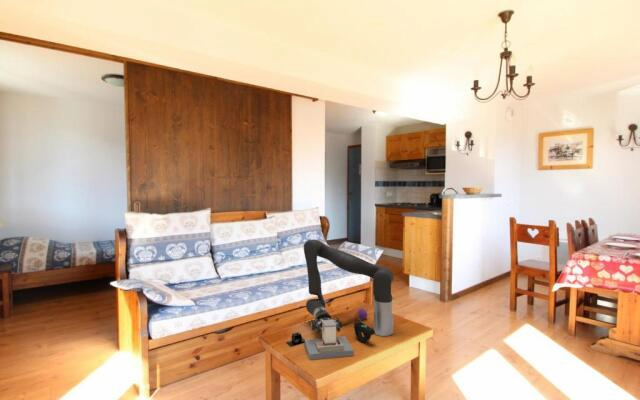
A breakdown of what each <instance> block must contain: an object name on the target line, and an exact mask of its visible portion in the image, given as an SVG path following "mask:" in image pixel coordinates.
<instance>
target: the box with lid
mask: <svg viewBox="0 0 640 400" xmlns="http://www.w3.org/2000/svg"><path fill="white" fill-rule="evenodd" d="M334 320H335V319H333V320H322V329H321V337H322V338H321V339H322V340H323V344H325V346H327V345H335V344H336V337H337V330H336V326H337V325H336V323H335V322H334Z"/></svg>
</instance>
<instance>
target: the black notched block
mask: <svg viewBox="0 0 640 400" xmlns="http://www.w3.org/2000/svg"><path fill="white" fill-rule="evenodd" d="M290 338H291V340H290V341H286V342H285V343H286V345H288V347H289V348H293V347H295V346H299V345H304V344H305V340H306V339H304V338H303V335H302V333H300V332H299V331H298V332H294V333H292V334H291V337H290Z"/></svg>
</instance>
